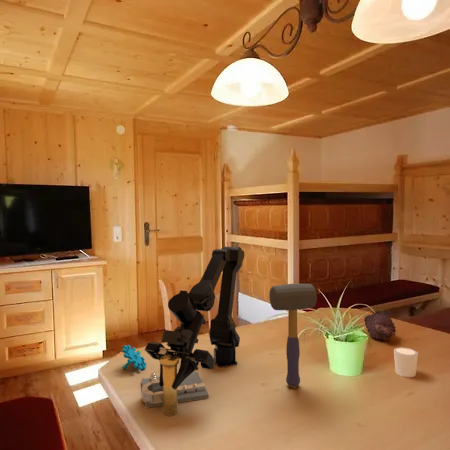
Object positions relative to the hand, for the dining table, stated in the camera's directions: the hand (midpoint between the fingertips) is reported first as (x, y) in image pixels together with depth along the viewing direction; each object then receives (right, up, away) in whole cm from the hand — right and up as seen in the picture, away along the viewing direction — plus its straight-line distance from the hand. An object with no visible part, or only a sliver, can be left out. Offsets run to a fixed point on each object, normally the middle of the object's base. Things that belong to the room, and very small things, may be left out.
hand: (167, 387), depth 94 cm
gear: (-15, -6, +29) cm, 33 cm away
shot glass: (+71, -5, +22) cm, 74 cm away
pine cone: (+75, -4, +53) cm, 92 cm away
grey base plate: (0, -7, +13) cm, 15 cm away
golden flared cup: (+1, -7, +2) cm, 7 cm away
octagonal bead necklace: (-1, -6, +13) cm, 14 cm away
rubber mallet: (+34, -6, +15) cm, 38 cm away
